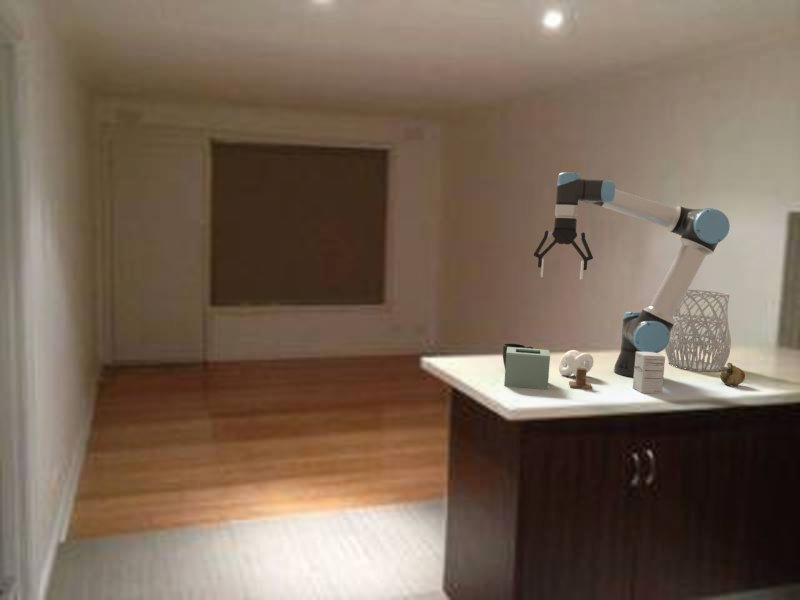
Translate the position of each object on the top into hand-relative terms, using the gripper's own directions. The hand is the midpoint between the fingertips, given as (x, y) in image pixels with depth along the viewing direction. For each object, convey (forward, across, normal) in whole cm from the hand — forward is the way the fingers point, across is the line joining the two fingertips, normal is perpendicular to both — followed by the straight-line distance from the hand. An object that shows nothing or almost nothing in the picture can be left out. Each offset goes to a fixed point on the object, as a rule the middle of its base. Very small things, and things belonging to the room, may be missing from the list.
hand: (561, 278), depth 263 cm
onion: (+35, -62, -9) cm, 72 cm away
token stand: (+35, -8, +15) cm, 39 cm away
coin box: (+35, +10, +18) cm, 40 cm away
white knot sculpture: (+35, -7, -1) cm, 36 cm away
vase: (+35, -57, -43) cm, 79 cm away
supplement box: (+35, -30, +13) cm, 48 cm away
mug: (+35, +13, -3) cm, 37 cm away
